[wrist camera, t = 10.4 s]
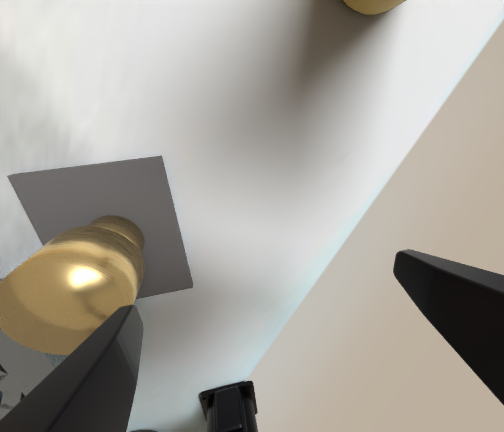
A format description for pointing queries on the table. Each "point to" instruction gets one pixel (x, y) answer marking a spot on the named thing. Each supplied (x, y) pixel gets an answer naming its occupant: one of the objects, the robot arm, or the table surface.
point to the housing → (21, 370)
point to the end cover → (73, 285)
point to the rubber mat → (112, 211)
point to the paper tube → (372, 5)
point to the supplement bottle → (145, 431)
